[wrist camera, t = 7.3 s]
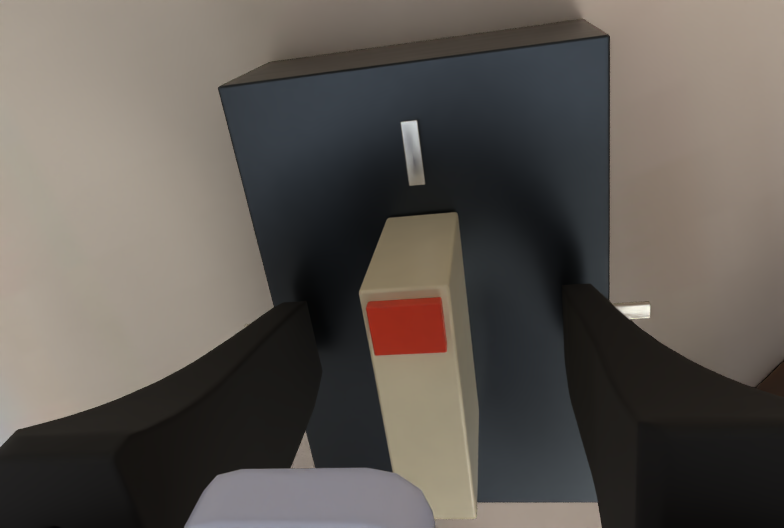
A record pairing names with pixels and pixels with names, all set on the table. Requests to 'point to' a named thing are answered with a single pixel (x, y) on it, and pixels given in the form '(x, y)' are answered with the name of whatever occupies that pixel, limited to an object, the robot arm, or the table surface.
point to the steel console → (434, 196)
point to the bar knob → (425, 359)
